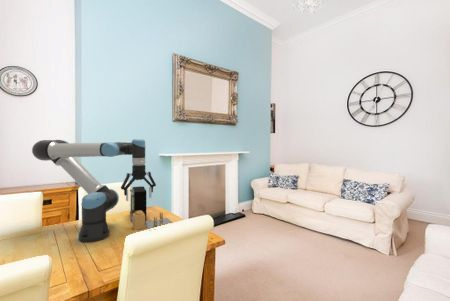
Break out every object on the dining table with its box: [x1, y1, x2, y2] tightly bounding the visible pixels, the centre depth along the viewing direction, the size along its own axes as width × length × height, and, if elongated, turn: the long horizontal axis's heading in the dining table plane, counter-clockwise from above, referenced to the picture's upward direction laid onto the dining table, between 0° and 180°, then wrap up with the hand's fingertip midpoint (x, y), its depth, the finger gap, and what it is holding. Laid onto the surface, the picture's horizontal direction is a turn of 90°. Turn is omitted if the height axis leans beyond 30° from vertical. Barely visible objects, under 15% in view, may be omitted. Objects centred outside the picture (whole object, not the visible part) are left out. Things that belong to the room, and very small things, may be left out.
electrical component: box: [129, 186, 147, 222], centre depth 160 cm, size 18×10×20 cm, turn 25°
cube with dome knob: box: [132, 210, 146, 231], centre depth 143 cm, size 6×6×10 cm
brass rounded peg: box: [159, 212, 164, 221], centre depth 153 cm, size 2×2×5 cm
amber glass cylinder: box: [153, 216, 158, 226], centre depth 144 cm, size 2×2×5 cm
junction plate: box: [145, 217, 174, 230], centre depth 149 cm, size 16×14×1 cm
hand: (139, 199), depth 142 cm, fingers open, 13 cm apart
